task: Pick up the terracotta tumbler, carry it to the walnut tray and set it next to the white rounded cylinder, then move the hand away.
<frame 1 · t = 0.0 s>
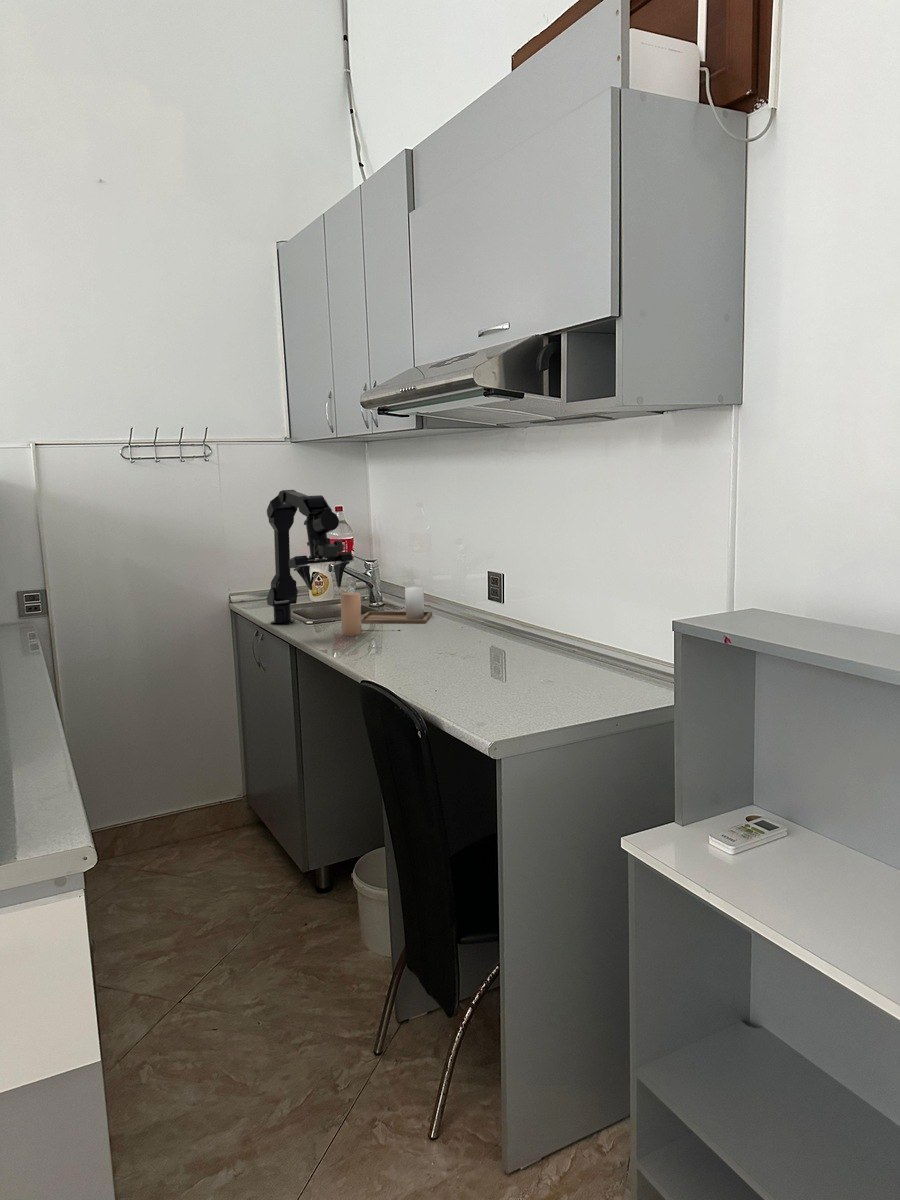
hand: (325, 588, 259), 15 cm above the worktop, tool pointing down, fingers open, 9 cm apart
terracotta tumbler: (351, 634, 268), on the worktop
walnut tray: (395, 621, 287), on the worktop
white rounded cylinder: (415, 617, 289), point 1 cm above the worktop, touching walnut tray
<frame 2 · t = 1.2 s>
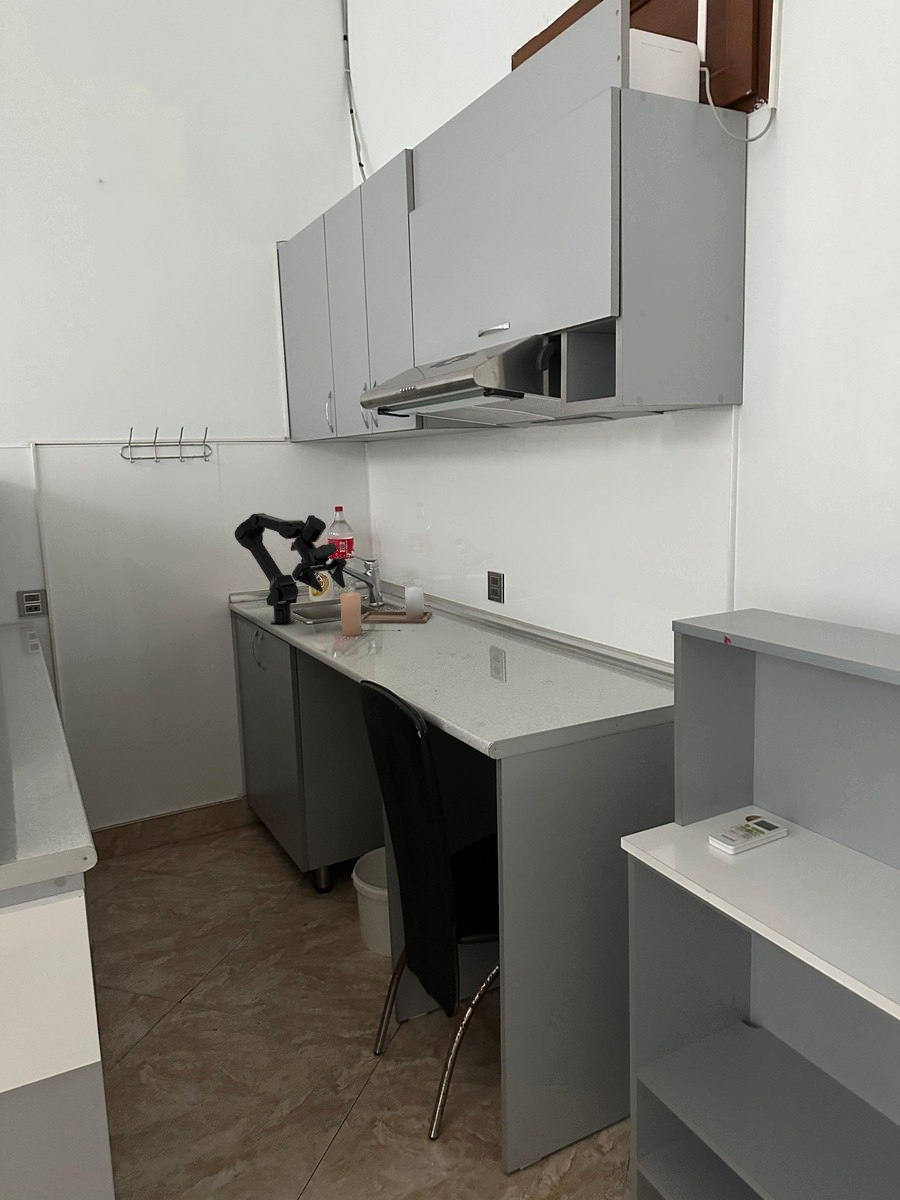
hand: (333, 589, 271), 13 cm above the worktop, tool tilted 45°, fingers open, 9 cm apart
nothing on the worktop moved.
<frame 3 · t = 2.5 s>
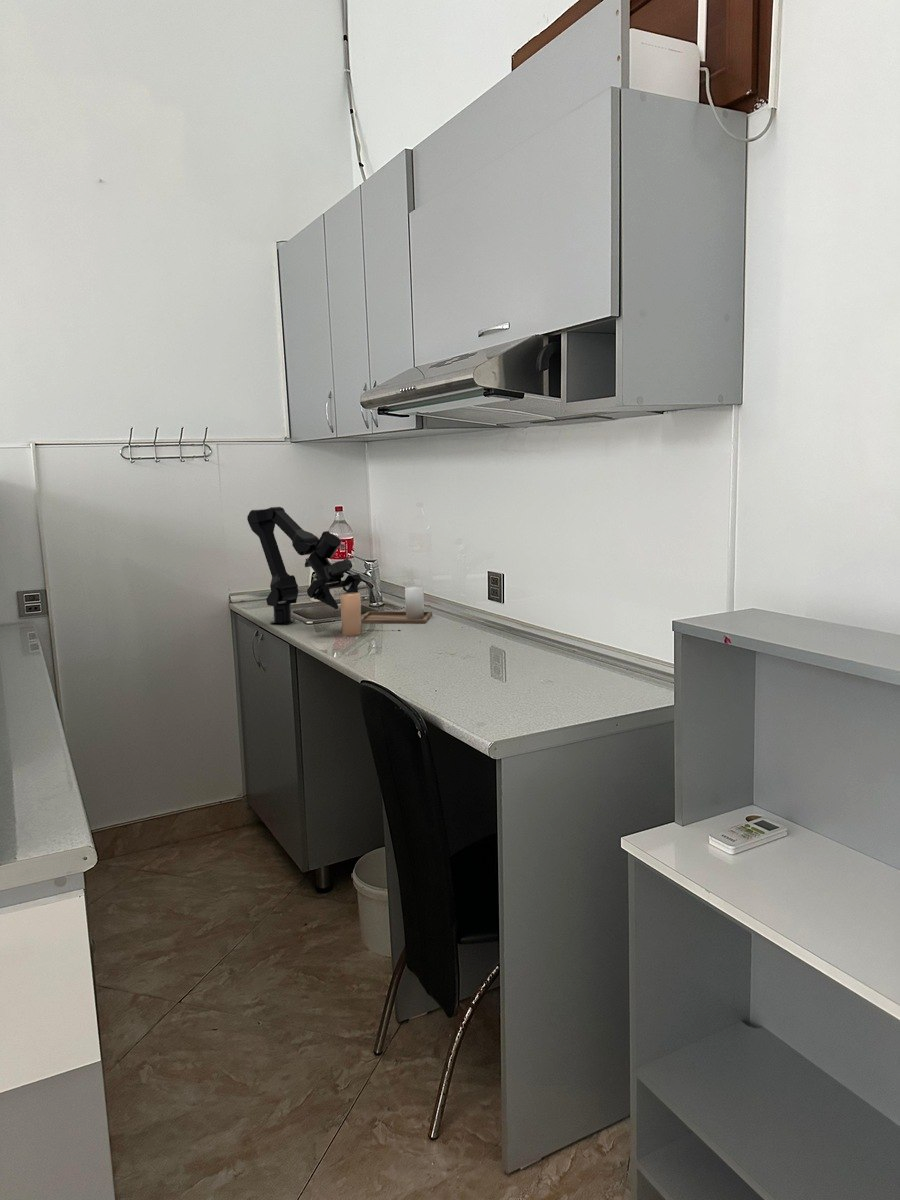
hand: (348, 606, 268), 9 cm above the worktop, tool tilted 45°, fingers open, 9 cm apart
nothing on the worktop moved.
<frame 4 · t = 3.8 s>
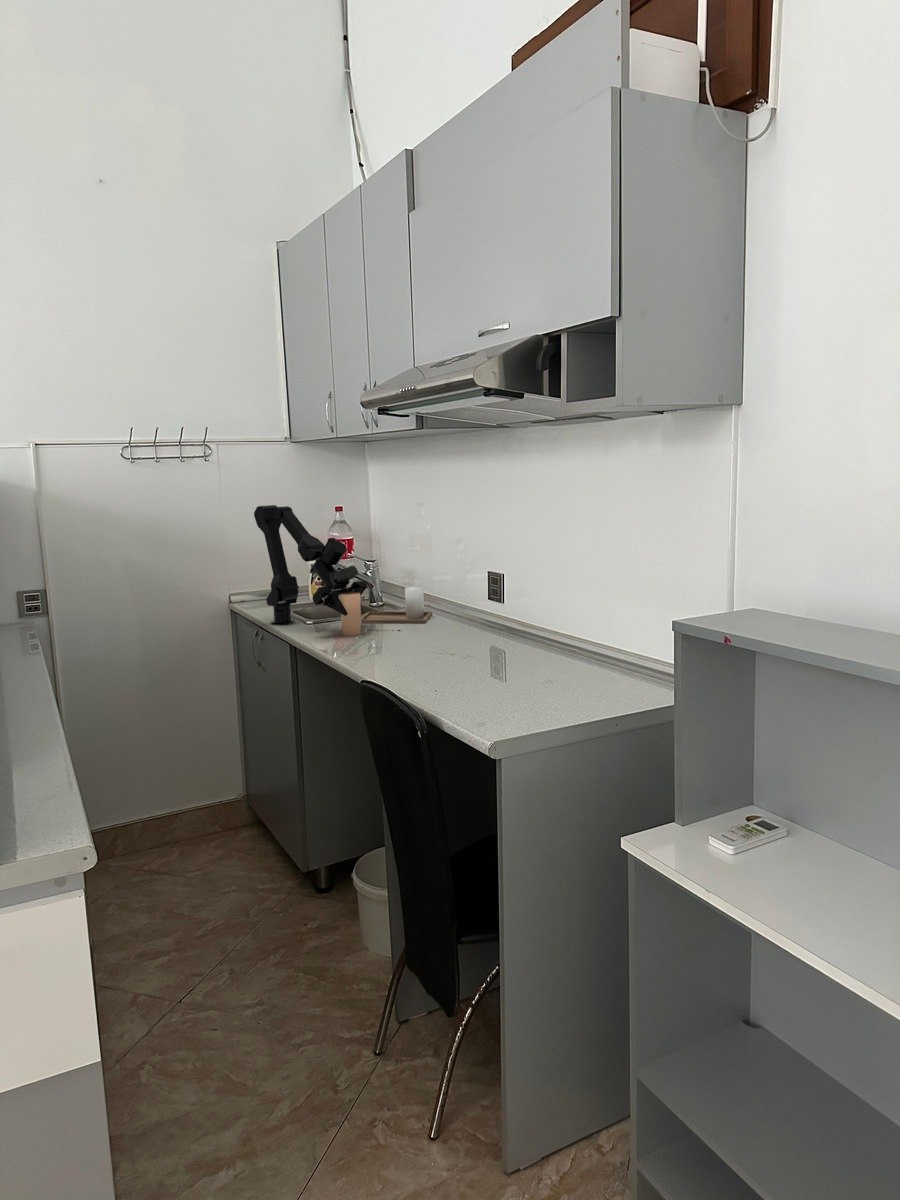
hand: (354, 613, 266), 7 cm above the worktop, tool tilted 45°, fingers closed on terracotta tumbler, 6 cm apart
terracotta tumbler: (351, 633, 268), on the worktop, touching gripper
everything else where it was.
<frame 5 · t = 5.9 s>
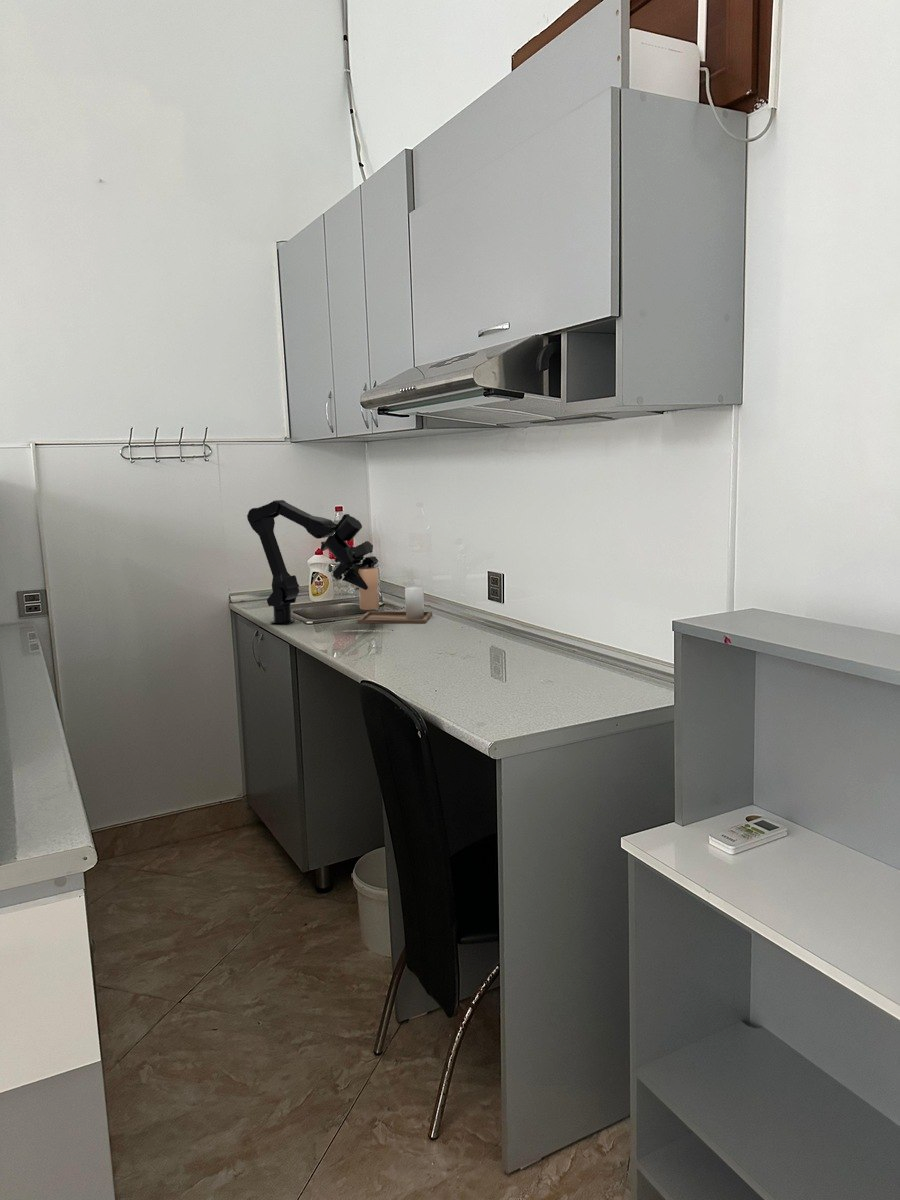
hand: (372, 587, 272), 13 cm above the worktop, tool tilted 45°, fingers closed on terracotta tumbler, 6 cm apart
terracotta tumbler: (369, 608, 274), point 7 cm above the worktop, touching gripper
everything else where it was.
when the fingers open (8 cm above the worktop, at t = 8.3 s): terracotta tumbler stays where it is, resting on walnut tray.
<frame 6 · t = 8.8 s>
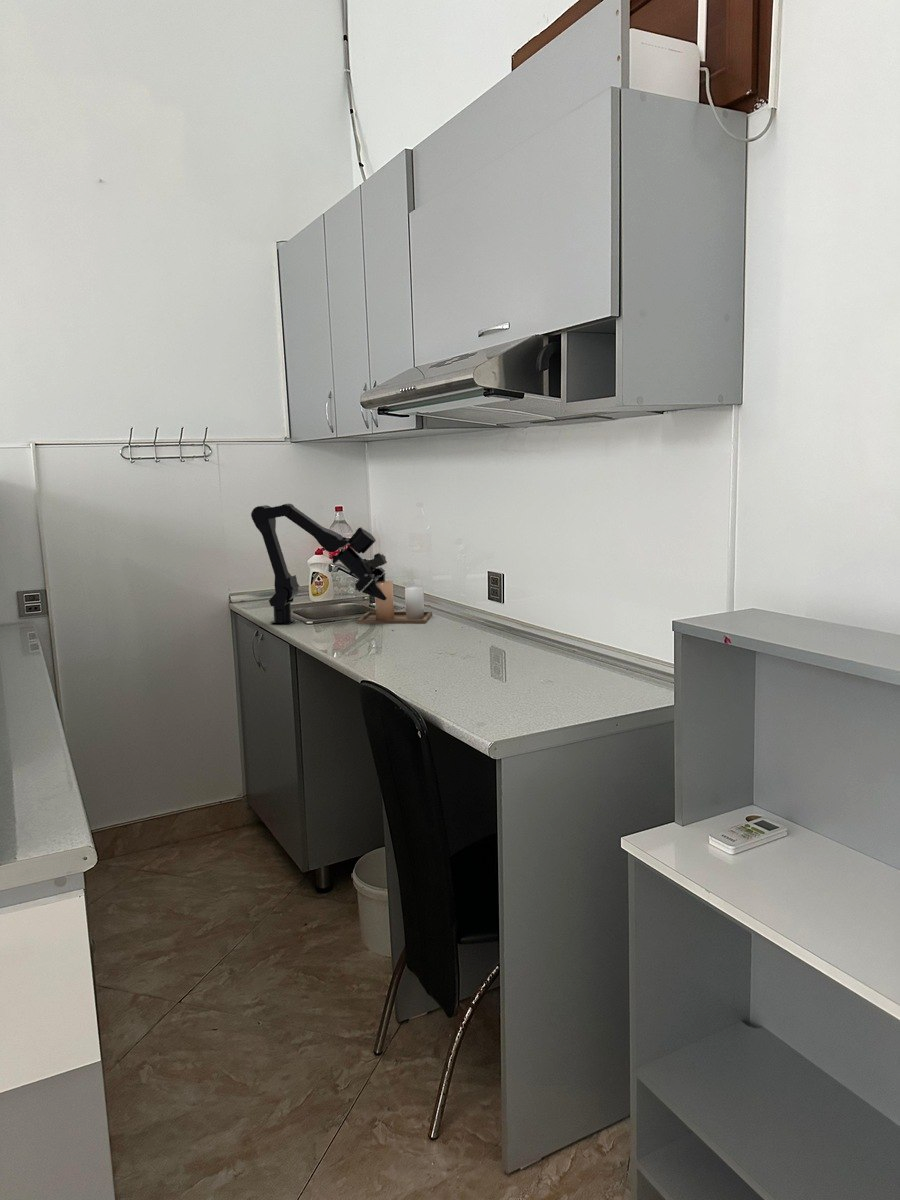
hand: (388, 597, 284), 9 cm above the worktop, tool tilted 45°, fingers open, 9 cm apart
terracotta tumbler: (385, 619, 285), point 1 cm above the worktop, touching walnut tray
everything else where it was.
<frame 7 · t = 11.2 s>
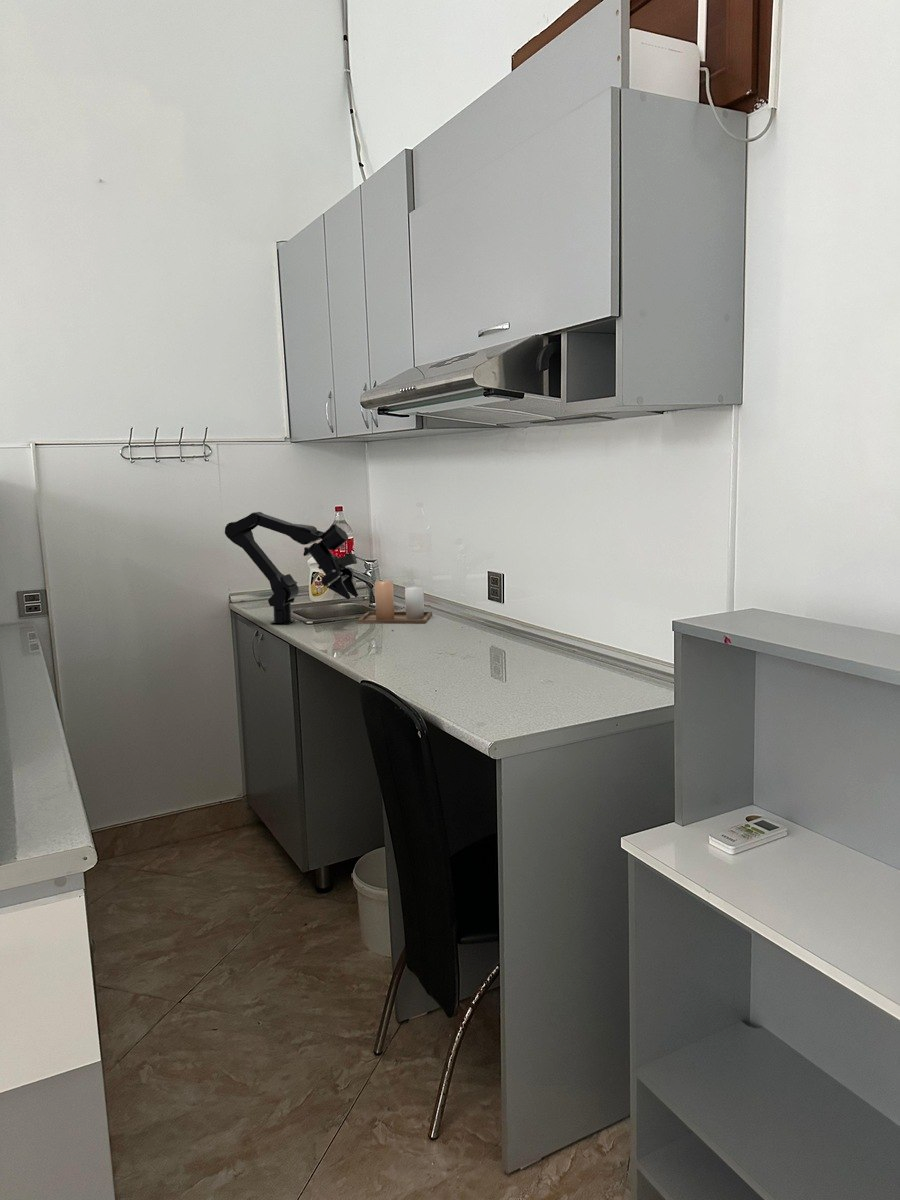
hand: (353, 597, 282), 9 cm above the worktop, tool tilted 35°, fingers open, 9 cm apart
nothing on the worktop moved.
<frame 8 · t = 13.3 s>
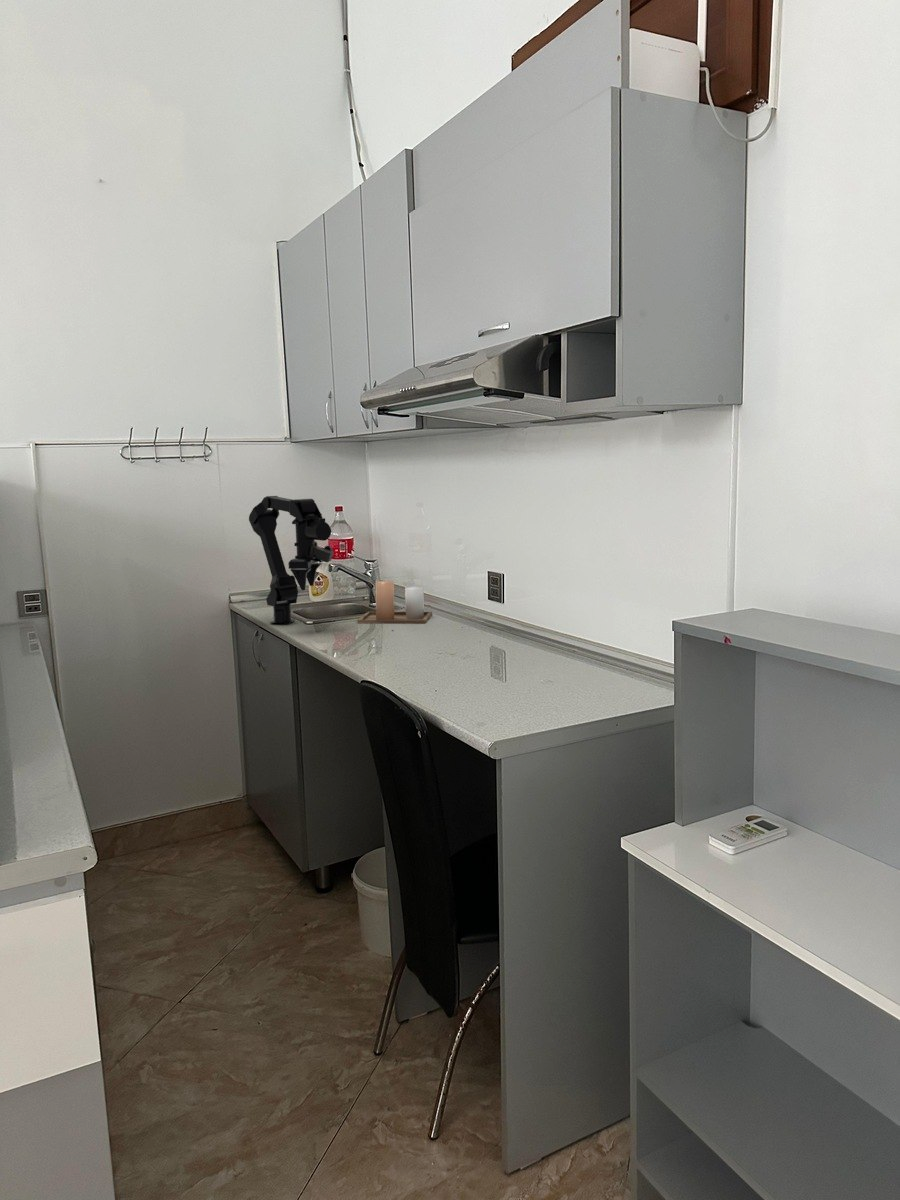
hand: (307, 587, 277), 13 cm above the worktop, tool pointing down, fingers open, 9 cm apart
nothing on the worktop moved.
at the end: terracotta tumbler inside the target area on the walnut tray (3.7 cm from its centre), point 1.1 cm above the walnut tray's base; terracotta tumbler tilted 2°; the gripper is holding nothing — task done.
